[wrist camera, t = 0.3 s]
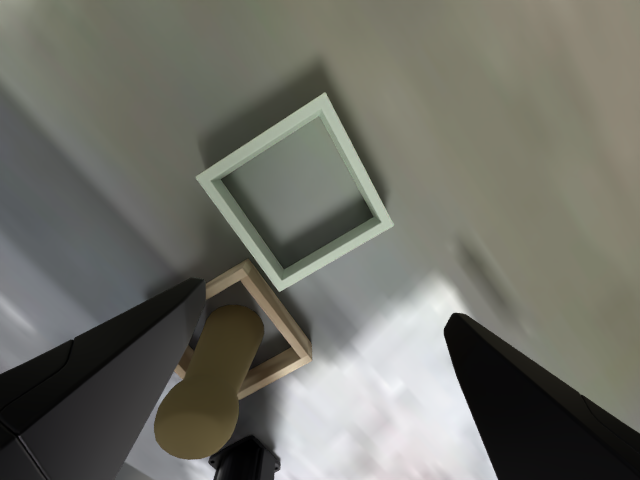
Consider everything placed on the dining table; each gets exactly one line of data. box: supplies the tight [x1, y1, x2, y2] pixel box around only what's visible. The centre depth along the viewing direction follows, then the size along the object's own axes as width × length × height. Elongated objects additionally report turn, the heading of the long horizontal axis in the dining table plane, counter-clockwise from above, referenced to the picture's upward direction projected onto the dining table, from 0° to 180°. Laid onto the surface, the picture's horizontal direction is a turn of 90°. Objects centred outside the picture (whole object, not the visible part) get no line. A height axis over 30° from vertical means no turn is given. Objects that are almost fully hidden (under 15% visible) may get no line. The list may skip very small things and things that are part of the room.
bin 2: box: [174, 258, 312, 401], centre depth 25 cm, size 12×12×2 cm
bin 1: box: [195, 93, 394, 292], centre depth 21 cm, size 12×12×2 cm
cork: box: [154, 305, 264, 460], centre depth 20 cm, size 6×6×11 cm
